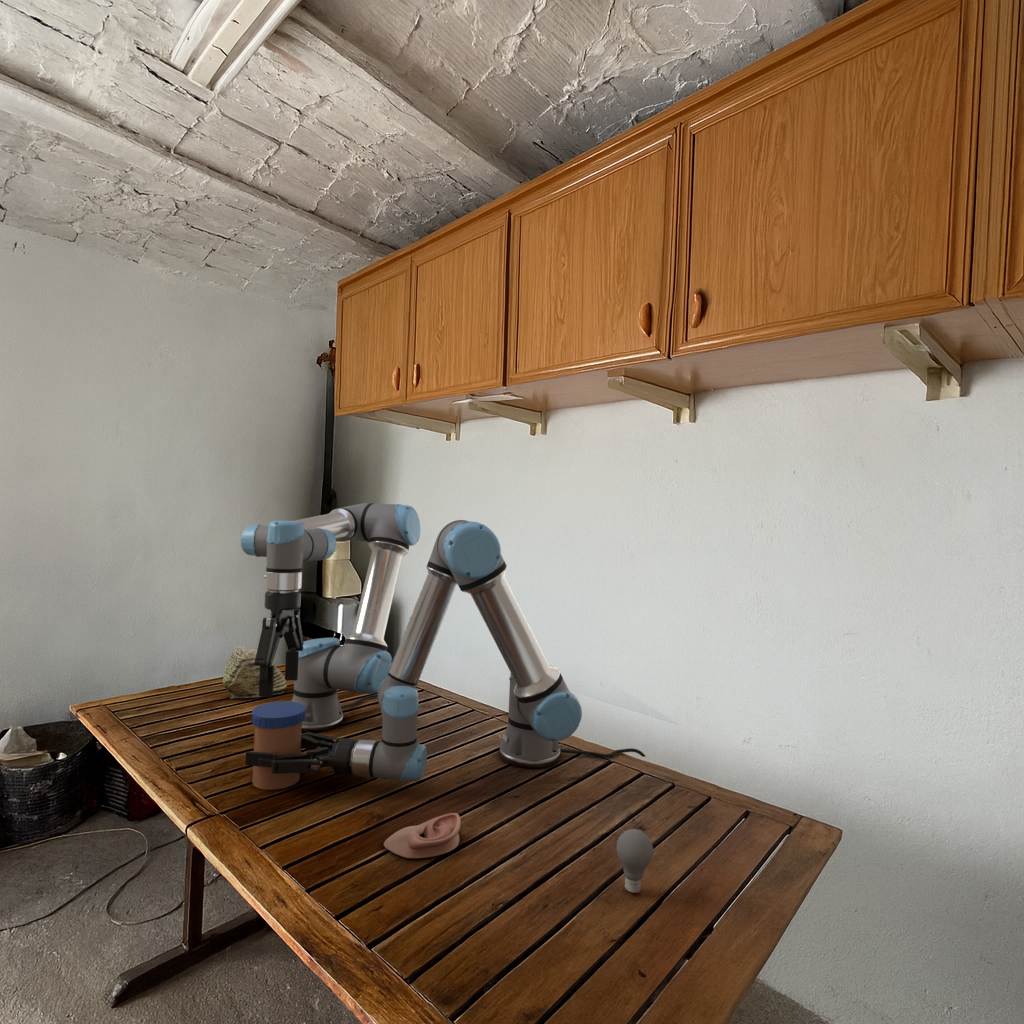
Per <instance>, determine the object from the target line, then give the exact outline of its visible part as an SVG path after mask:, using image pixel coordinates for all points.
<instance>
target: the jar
mask: <svg viewBox="0 0 1024 1024" xmlns="http://www.w3.org/2000/svg"><path fill="white" fill-rule="evenodd" d="M302 733H303V732H302V722H301V723H299V724H296V725H293V726H290V727H284V728H262V727H258V726H255V725H254V724H253V748H252V749H253V751H252V752H262V753H272V754H274V753H277V756H282V755H291V754H300V753H302V749H301V738H302V735H303V734H302ZM300 779H301V773H281V774H273V773H272V768H271V767H260V766H252V779H251V781H252V782H251V783H252V785H253V786H254V787H255V788H257V789H260V790H265V791H266V790H267V791H275V790H281V789H287V788H289V787H291V786H293V785H296V784H297V783H298V782H299V781H300Z"/></svg>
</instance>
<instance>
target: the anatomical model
mask: <svg viewBox="0 0 1024 1024" xmlns="http://www.w3.org/2000/svg"><path fill="white" fill-rule="evenodd" d="M461 820H462V819H461V816H460V815H459V813H456V812H450V813H446V814H443V815H439V816H437V817H434V818H431V819H428V820H427V821H425V822H423V823H420V824H418V825H409V826H406V827H403V828H400V829H399V830H397V831H395V832H394V833H393V834H391V835H390V836H388V838H386V839H385V841H384V842H383V847H384V848H385V849H386V850H388V851H389V852H391V853H393V854H395V855H396V856H400V857H402V858H405V859H425V858H432V857H436V856H440V855H441V856H442V855H444V854H447V853H449V852H451V851H453V850H456V848H457V847H458V845H459V843H460V834H459V832H460V829H461V826H462V825H461V824H462V822H461Z"/></svg>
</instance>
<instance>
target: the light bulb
mask: <svg viewBox="0 0 1024 1024" xmlns="http://www.w3.org/2000/svg"><path fill="white" fill-rule="evenodd" d="M615 849H616V854H617V857H618V859H619V861H620V863H621V865H622V867H623V873H624V874H623V875H624V876H625V878H624V888H625V890H627V891H628V892H630V893H634V894H635V893H639V892H640V891H641V889H642V887H641V886H642V879H643V877H644V875H645V871H646V868H647V867H648V866H649V864H650V863H651V861H652V859H653V855H654V847H653V843H652V841H651V838H649V836H648V835H647V834H646V833H645V832H643V831H642V830H641V829H636V828H629V829H627V830H625V831H623V832H622V833H621V834H620V835H619V837H618V839H617V841H616V847H615Z"/></svg>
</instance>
